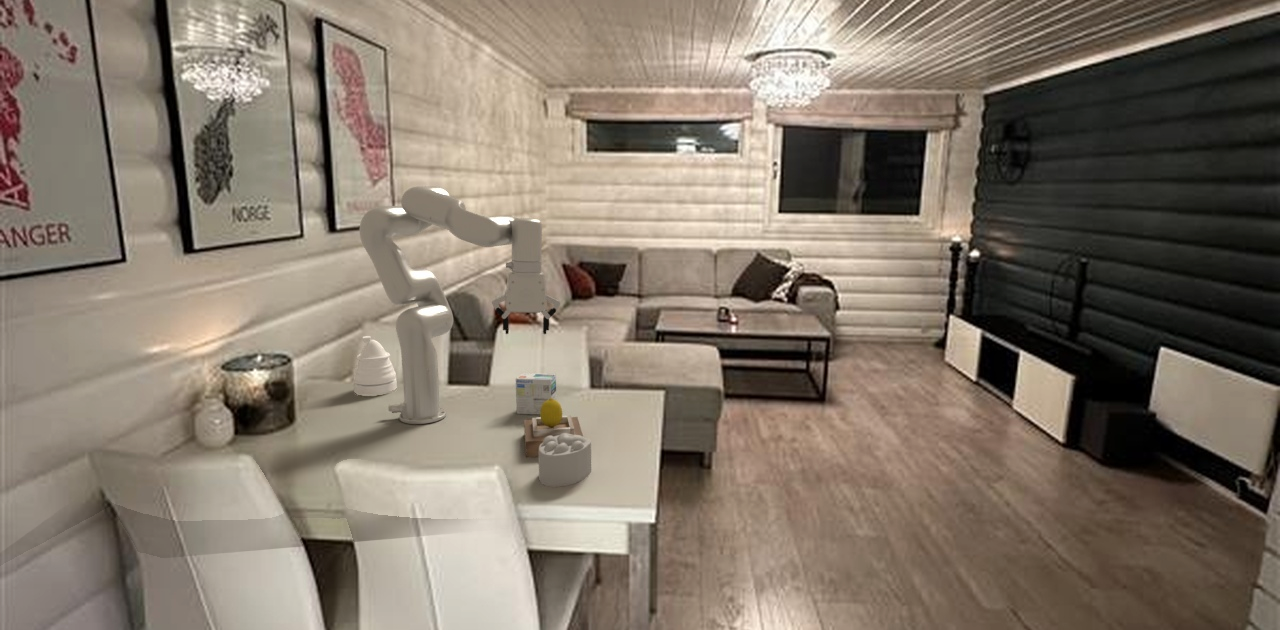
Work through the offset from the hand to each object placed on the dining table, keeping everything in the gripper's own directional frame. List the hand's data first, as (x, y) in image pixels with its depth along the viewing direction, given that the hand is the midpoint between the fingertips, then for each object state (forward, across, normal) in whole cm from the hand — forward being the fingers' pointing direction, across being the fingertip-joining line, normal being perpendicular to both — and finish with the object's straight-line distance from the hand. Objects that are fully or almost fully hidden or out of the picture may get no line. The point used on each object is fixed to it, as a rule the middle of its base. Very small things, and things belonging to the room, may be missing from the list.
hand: (525, 333), depth 179 cm
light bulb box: (+28, +4, +17) cm, 33 cm away
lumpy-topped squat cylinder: (+26, +8, -30) cm, 41 cm away
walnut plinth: (+27, +7, -10) cm, 29 cm away
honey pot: (+30, -47, +46) cm, 72 cm away
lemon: (+23, +7, -10) cm, 26 cm away
